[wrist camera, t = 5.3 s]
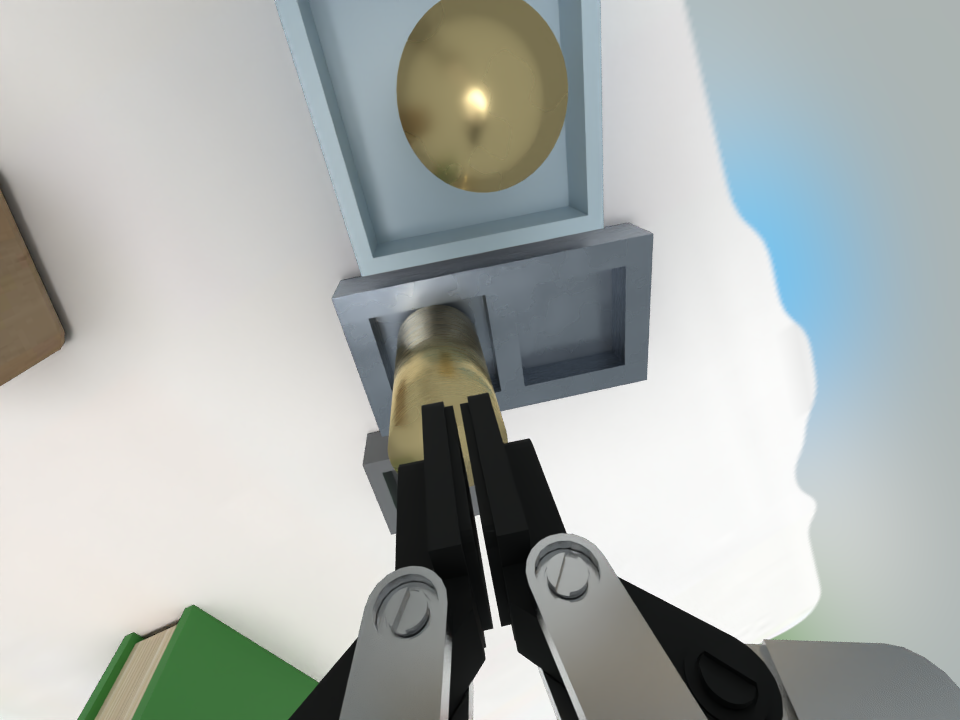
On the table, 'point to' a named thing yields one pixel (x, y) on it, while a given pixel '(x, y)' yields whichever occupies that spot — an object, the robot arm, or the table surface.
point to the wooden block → (22, 305)
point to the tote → (395, 167)
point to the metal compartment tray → (518, 315)
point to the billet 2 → (435, 378)
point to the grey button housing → (388, 478)
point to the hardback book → (196, 677)
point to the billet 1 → (482, 92)
